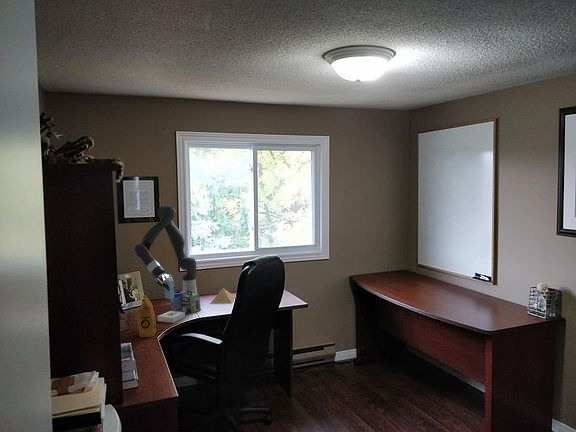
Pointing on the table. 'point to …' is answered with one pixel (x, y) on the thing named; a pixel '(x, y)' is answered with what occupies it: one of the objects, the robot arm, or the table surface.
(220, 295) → the model pyramid
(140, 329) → the coffee package
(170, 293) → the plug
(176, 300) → the ink cartridge box
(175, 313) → the port block
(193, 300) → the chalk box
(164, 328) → the table surface
